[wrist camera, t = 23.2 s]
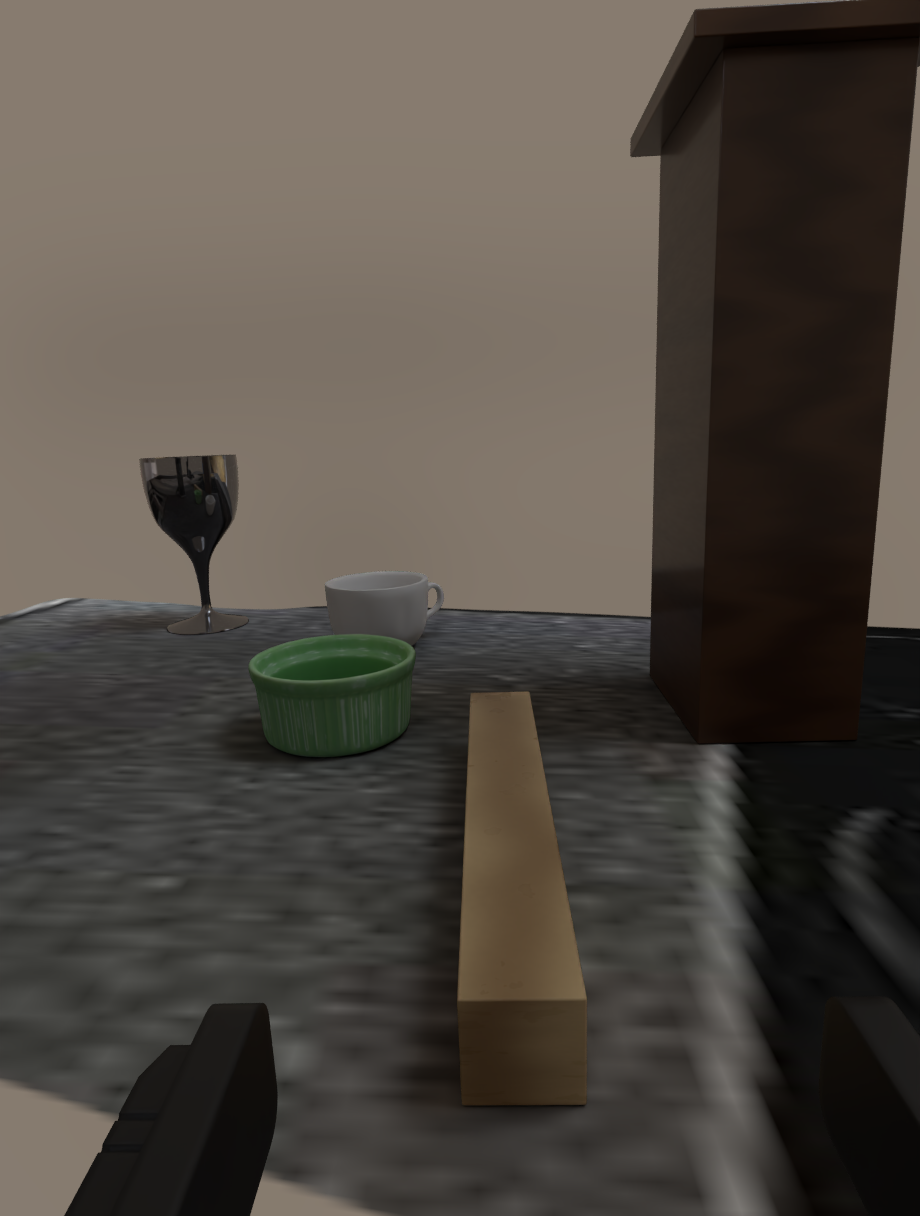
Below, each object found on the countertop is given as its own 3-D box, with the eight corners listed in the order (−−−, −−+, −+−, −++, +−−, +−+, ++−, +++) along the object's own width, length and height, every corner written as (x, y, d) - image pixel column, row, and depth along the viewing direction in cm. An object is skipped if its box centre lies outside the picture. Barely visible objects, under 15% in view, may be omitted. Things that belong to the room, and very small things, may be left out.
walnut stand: (672, 752, 36) (694, 8, 29) (623, 671, 49) (630, 138, 42) (898, 747, 36) (977, -9, 29) (790, 667, 49) (825, 127, 41)
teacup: (361, 670, 52) (356, 595, 50) (312, 648, 58) (306, 581, 56) (473, 642, 57) (470, 575, 56) (417, 625, 63) (414, 564, 62)
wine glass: (206, 611, 72) (187, 456, 69) (271, 616, 69) (255, 453, 65) (142, 631, 65) (117, 459, 62) (211, 638, 62) (189, 457, 58)
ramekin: (391, 770, 36) (386, 684, 35) (224, 759, 38) (214, 678, 37) (436, 705, 44) (432, 634, 43) (298, 699, 46) (291, 632, 45)
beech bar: (461, 1106, 18) (456, 1000, 17) (472, 747, 38) (470, 692, 37) (587, 1105, 17) (587, 998, 17) (530, 746, 38) (529, 691, 37)
